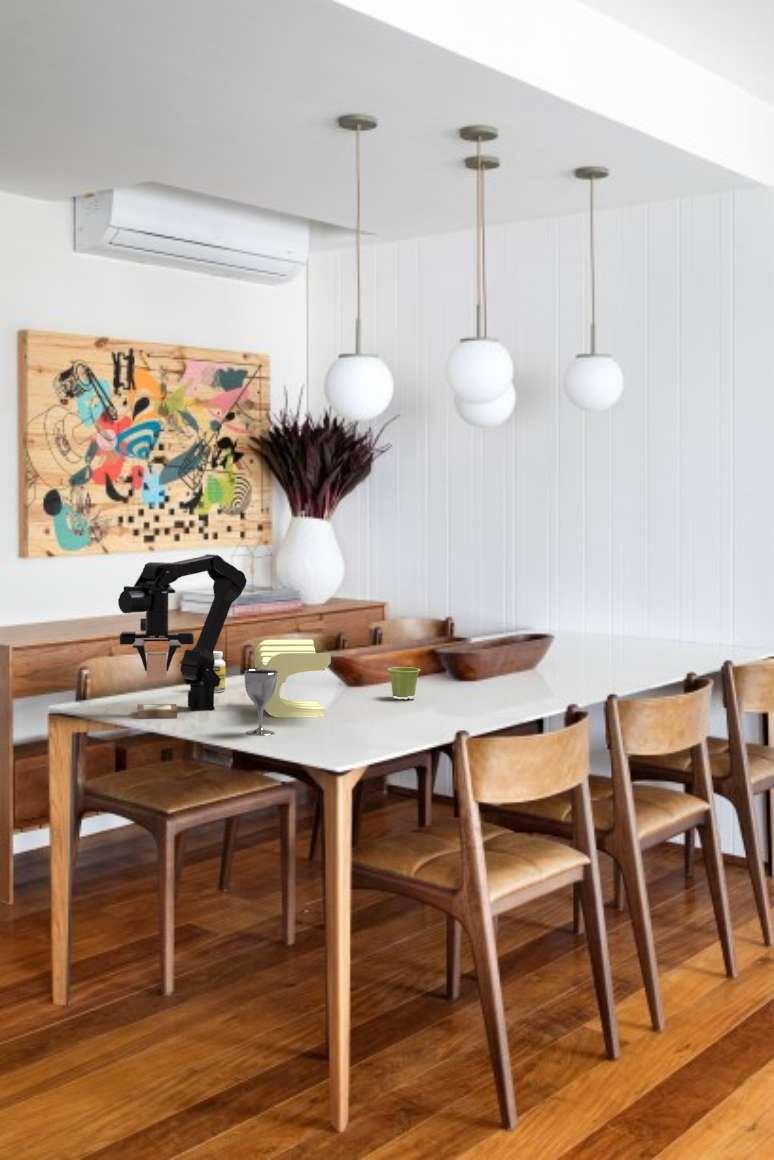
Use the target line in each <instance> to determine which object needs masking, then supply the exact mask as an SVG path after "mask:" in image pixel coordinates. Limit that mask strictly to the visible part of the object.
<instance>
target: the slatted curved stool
mask: <svg viewBox="0 0 774 1160" xmlns="http://www.w3.org/2000/svg"><path fill="white" fill-rule="evenodd" d="M331 662H332V653H331V652H316V649H315V645H314V640H313V639H265V640H263V641H261V642H260V643H259V644H258V645H257V646H256V648H255V652H254V668H256V669H268V670H275V671H277V672H278V678H277V687H276V691H275V694H274V696H273V697H272V698H271V699H270V700H269V702H268V703H267V704H266V706H265V707H264V710H265V712H267V714H269V716H272V717H274V718H303V717H304V718H306V717H307V718H309V717H310V718H311V717H312V718H313V717H318V716H321V717H325V710H324V707H323V706H322V705H320V703H319V702H318V701H296V700H295V701H294V700H289V699H285V698H283V697H280V693H281V692H280V691H281V687H282V685H283V683H286V681H287V678H288V677H290V676H292V675H295V674H298V673H304V672H314V671H325V670H326V669H328V667H329V666H330V665H331V664H332V663H331Z"/></svg>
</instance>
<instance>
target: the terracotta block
mask: <svg viewBox="0 0 774 1160" xmlns="http://www.w3.org/2000/svg"><path fill="white" fill-rule="evenodd" d="M167 657H168V652H147V653H146V661H147V671H146V679H149V680H150V679H167V675H168V674H167V672H168V671H167Z"/></svg>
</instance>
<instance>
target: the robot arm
mask: <svg viewBox="0 0 774 1160" xmlns="http://www.w3.org/2000/svg"><path fill="white" fill-rule="evenodd" d="M204 572H205V573H206V572H207V574H208V576H209V578H210V579H211V580H212V581H213V586H212V590H213V597H214V598H213V601H212V603H211V605H210V608H209V611H208V613H207V615H206V619H205V621H204V623H203V627H202V629H201V631H200V633H199V636H198V639H197V642H196V645H195V646H194V647H193V648H192V649H186V650H185V651H184V652H183V653H184V654H183V657H182V659H181V661H180V662H179V664H181V665H180V667H179V668H180V670H179V671H180V672H181V675H182V678H183V679H184V683H185V685H186V686H187V685H189V689H188V691H187V706H188V708H189V710H190V711H192V710H193V711H197V710H198V711H199V710H200V711H206V710H207V711H209V710H211V711H212V710H215V693H214V687H218V686H219V684H220V680H221V679H220V678H219V676H218V675H217V674H216V673H215V672H214V670H213V668H214V664H215V661H214V654H213V652H214V651H215V649H216V646H217V644H218V640H219V638H220V636H221V633H222V630H223V628H224V625H225V622H226V619H227V617H228V614H229V612H230V608H231V606H232V605H233V603H234V602H235V601H236V600H237V599H238V598H239V597H240V596H241V595H242V593H243V591H244V589H245V587H246V586H247V582H248V581H247V577H246V574H245V573H244V572H243V571H242V570H239V569H238V568H237V567H236V566H234V565H232V564H230V563H229V562H227V561H226V560H224V558H223V557H221V556H220V555H219V554H204V555H203V556H197V557H193V558H188V559H187V558H186V559H184V560H183V559H182V560H179V561H175V562H163V561H162V562H152V561H151V562H147V563H145V564H144V567H143V568H142V572H141V574H140V575H139V576H138V578H137V580H136V582H135V583H134V585H133V586H129V585H125V586H123V591H121V593H120V594H119V597H118V599H117V600H118V602H117V603H118V607H119V610H120V611H121V613H123V614H133V613H145V618H140V630H139V631H140V632H145V634H137V633H136V632H137V631H121V633H120V634H119V645H132V648H133V649H134V648H135V649H136V650H137V652H138V654H139V655H140V659H141V662H142V664H143V668H144V670H145V672H147V653H146V646H145V642H169V644H168V651H167V672H168V671H169V669H170V666H171V663H172V659H173V657H174V655H175V653H176V651H177V649H179V648H181V647H182V645H194V640H195V637H194V633H193V632H192V631H177V633H176V634H175V633H174V634H169V594H175V593H176V590H175V589H174V588H173V587H172V586H171V584H172V583H174V582H176V581H178V579H180V578H182V577H186V576H191V575H196V574H200V573H204Z"/></svg>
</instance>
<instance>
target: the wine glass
mask: <svg viewBox="0 0 774 1160" xmlns="http://www.w3.org/2000/svg"><path fill="white" fill-rule="evenodd" d="M277 678H278V672H277V671H275V670H268V669H257V668H255V669H247V670H244V686H245V687H244V688H245V692H246V695H247V696H248V698H249V699H250V700H251V701H252V702H253V704H254V705H255V706H256V709H257V713H258V727H257V728H255V729H251V730H247V731H246V732H245V734H246V735H249V736H258V735H259V736H262V737H263V736H271V735H274V734H276V732H275V731H274V730H269V729H265V728H264V727H263V716H264V715H263V714H264V710H265V709H264V707H265V706H266V704H267V703H268V702H269V700H270V699H271V698H272V697H273V696H274V694H275V691H276V687H277Z"/></svg>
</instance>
